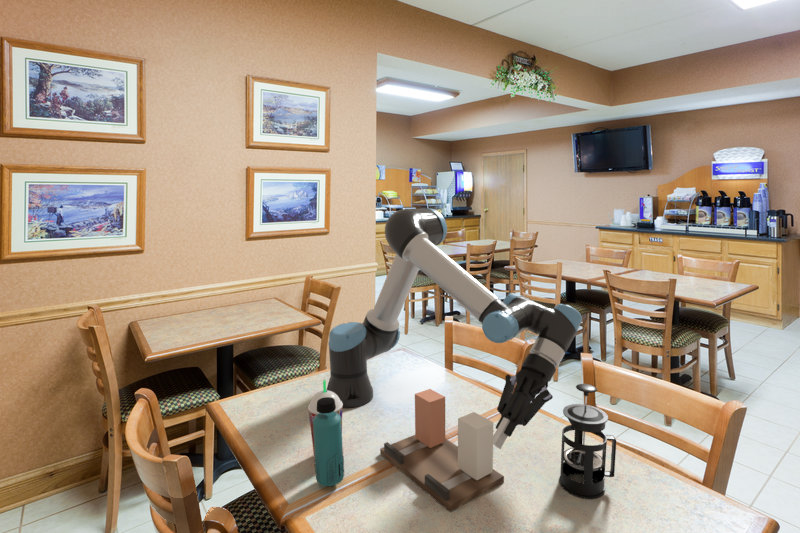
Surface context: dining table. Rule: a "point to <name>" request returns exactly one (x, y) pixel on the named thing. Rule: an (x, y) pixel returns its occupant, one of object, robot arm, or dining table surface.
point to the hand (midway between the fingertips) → (495, 445)
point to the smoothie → (313, 406)
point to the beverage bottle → (328, 443)
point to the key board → (438, 471)
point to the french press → (585, 449)
